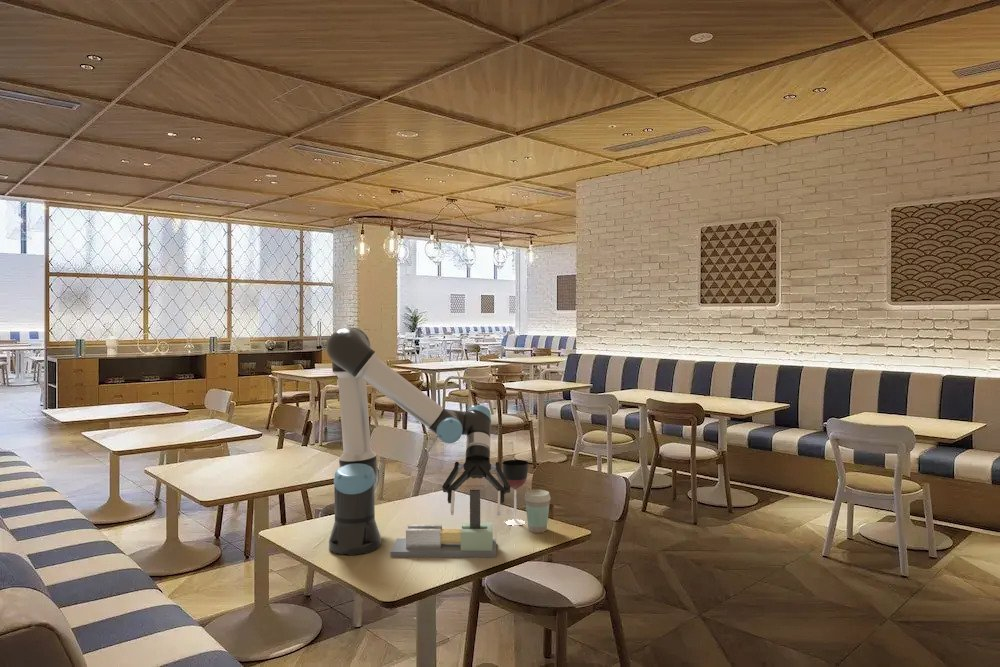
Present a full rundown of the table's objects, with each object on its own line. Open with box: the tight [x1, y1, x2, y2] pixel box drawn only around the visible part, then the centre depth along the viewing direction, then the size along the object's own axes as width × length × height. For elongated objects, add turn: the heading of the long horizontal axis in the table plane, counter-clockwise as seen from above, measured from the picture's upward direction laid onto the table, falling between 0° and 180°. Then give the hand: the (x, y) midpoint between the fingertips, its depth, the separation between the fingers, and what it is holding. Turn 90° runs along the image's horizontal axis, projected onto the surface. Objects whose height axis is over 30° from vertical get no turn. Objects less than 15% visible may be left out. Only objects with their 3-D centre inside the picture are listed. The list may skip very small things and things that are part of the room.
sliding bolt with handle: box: [441, 489, 481, 544], centre depth 195 cm, size 14×3×15 cm, turn 90°
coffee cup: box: [523, 489, 552, 533], centre depth 213 cm, size 9×8×12 cm
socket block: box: [460, 522, 494, 551], centre depth 195 cm, size 9×9×5 cm
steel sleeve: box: [405, 524, 443, 548], centre depth 195 cm, size 10×5×5 cm, turn 90°
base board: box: [389, 537, 497, 558], centre depth 195 cm, size 30×11×2 cm, turn 90°
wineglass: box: [501, 459, 529, 527], centre depth 220 cm, size 8×9×20 cm
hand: (475, 513), depth 193 cm, fingers open, 13 cm apart
